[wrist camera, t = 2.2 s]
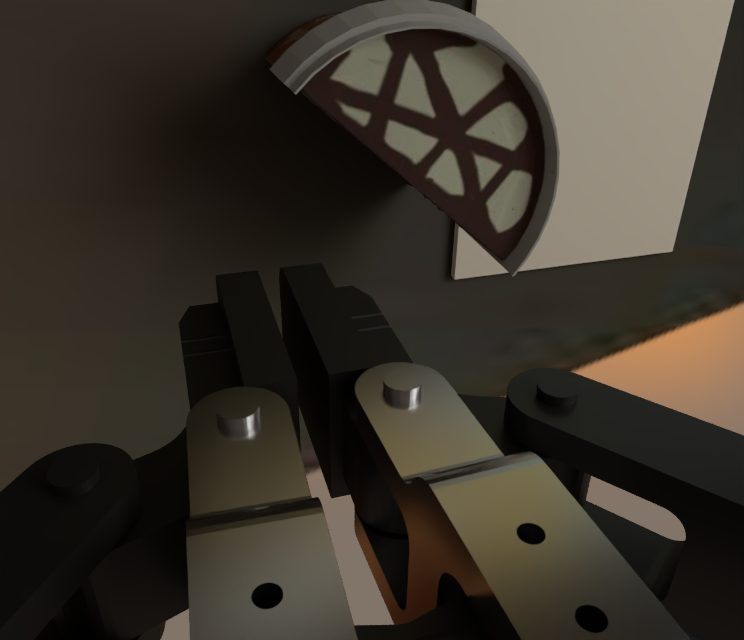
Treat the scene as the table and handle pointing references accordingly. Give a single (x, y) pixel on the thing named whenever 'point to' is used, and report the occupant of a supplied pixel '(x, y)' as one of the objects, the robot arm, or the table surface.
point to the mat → (612, 119)
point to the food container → (437, 112)
